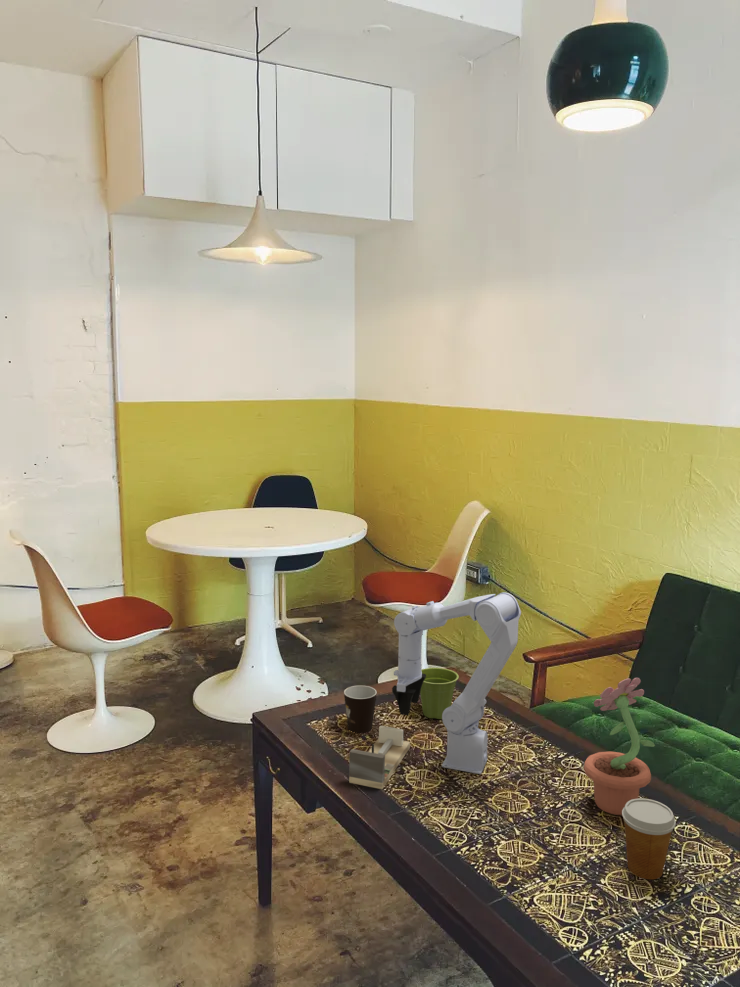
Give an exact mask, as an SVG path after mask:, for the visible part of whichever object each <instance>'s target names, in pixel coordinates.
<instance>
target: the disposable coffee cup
mask: <svg viewBox="0 0 740 987" xmlns="http://www.w3.org/2000/svg"><path fill="white" fill-rule="evenodd" d="M621 816H622V817H623V822H624V833H625V847H626V850H625V851H626V860H627V861H626V863H627V868H628V871H629V872H630V873H632V875H634V876H636V877H638V878H640V879H644V880H656V879H659V878H661V877H662V876H663V873H664V868H665V863H666V860H667V853H668V850H669V846H670V841H671V837H672V831H673V830H674V828H675V826H676V825H677V824H676V818H675V817H674V813H673V810H671V808H670V807H668V806H667V805H665V804H664V803H662V802H660V801H657V800H654V799H651V798H650V799H649V798H639V797H638V799H632V800H630V801H628V802H627V803H626V805H625V807H624V808H623V810H622V815H621Z"/></svg>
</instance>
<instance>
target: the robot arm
mask: <svg viewBox="0 0 740 987" xmlns="http://www.w3.org/2000/svg"><path fill="white" fill-rule="evenodd" d="M521 614H522V610H521V608H520V606H519V602H518V600H517V599H516V597H515V596H514V595H512V594H511V593H508V592H500V593H498V594H497V595H496V593H491V594H484V595H481V596H475V597H472V598H471V597H470V598H468V599H465V600H461V601H458V602H455V603H451V604H448V605H443V604H442V603H441V602H434V600H432V601H431V600H430V601H429V602H426V604H425V605H422V606H418V605H414V606H412V607H411V608H409V609H406V610H404V611H401V612H399V613H398V614H397V615H395V618H394V619H393V620H394V622H393V623H394V624H393V625H394V628H395V631H397V633H398V654H397V655H398V657H397V658H398V664H397V668H398V669H396V670H394V671H393V676H396V677H397V683H396V685H395V684H394V685H393V686H392V688H391V691H392V692H391V693H393V695H394V697H395V700H396V703H397V706H398V710H399V711H398V712H399V714H400V715H402V716H409V715H410V711H411V705H412V703H413V704H418V702H419V699H420V696H421V695H420V691H421V687H422V684H423V682H424V680H425V678H426V674H423V673H422V672H421V669H423V668H422V667H423V666H422V650H423V649H422V647H423V646H422V643H423V642H422V640H423V633H424V631H427V630H432V629H436V628H441V627H444V626H445V625H446V624H447V622H448V620H451V619H456V618H460V617H462V618H463V617H467V616H469V617H470V618H471V620H472V621H473V622H475V621H477V623H478V624H479V626H480V627H481V629H482V631H483V632H484V634H485V635H486V637H487V638H488V639H489V641H490V643H489V646H488V647H487V649H486V651H485V652H484V654H483V657H482V658H481V660H480V661H479V663H478V665H477V667H476V668H475V670H474V672H473V674H472V675H471V677H470V679H469V680H468V682H467V684H466V685H465V688H464V689H463V690H462V692H461V693H460V694H459V695H458V696H457V697H456V699H455V700H454V701H452V703H451V706H450V707H448V708H446V709H445V710H444V711H443V714H442V719H441V720H442V723H443V725H444V727H445V728H446V731H447V738H446V740H447V744H446V745H447V746H446V748H447V749H446V756H445V759H444V761H443V762H442V764H441V768H444V769H445V768H446V769H449V770H456V771H459V772H460V771H462V772H467V773H472V774H478V775H481V774H482V773H483V771H484V769H485V766H486V764H487V761H488V737H489V736H488V731H486V730H483V729H481V728H479V724H480V723H479V722H480V720H482V718H483V716H484V713H485V712H484V711H485V705H486V704H487V699H486V697H488V694H489V692H490V690H491V689H492V688H493V687H494V686H493V685H494V684H495V683H496V681H497V679H498V677H499V676H500V674H501V672H502V670H503V669H504V667H505V666H506V664H507V662H508V661H509V659H510V657H511V656H512V654H513V653H514V650H515V648H516V647H517V644H518V641H519V620H520V617H521Z"/></svg>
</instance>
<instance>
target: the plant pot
mask: <svg viewBox="0 0 740 987" xmlns="http://www.w3.org/2000/svg"><path fill="white" fill-rule="evenodd" d="M421 672H422V673H423V674H426V678H425V680H424V682H423V684H422V687H421V691H420V695H419V696H420V699H421V700H420V701H421V708H422V713H423V716H424V717H426V718H427V719H428V718H429V719H437V720H442V714H443V711H444V710H445V709H446V708H448V707H450V706H451V705H452V704H453V696H454V691H455V688H456V685H457V681H458V679H459V678H460V676H459V674H458V673H457V671H454V670H452V669H448V668H444V667H425V668H422V669H421Z"/></svg>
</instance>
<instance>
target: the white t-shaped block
mask: <svg viewBox="0 0 740 987" xmlns="http://www.w3.org/2000/svg"><path fill="white" fill-rule="evenodd" d="M378 738H379V742H380V743H385V744H384V745H383V746H382V748H381V749H380V750H379V752H378V754H382V755H385V754H386V753H387V751H388V750H389V748H390V747H391V746H392V745H396V746H403V741H404V729H402V728H395V727H391V726H384V725H380V726H379V727H378Z"/></svg>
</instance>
